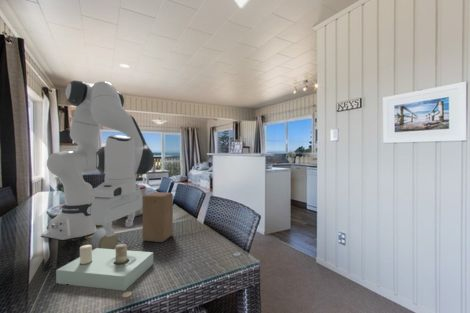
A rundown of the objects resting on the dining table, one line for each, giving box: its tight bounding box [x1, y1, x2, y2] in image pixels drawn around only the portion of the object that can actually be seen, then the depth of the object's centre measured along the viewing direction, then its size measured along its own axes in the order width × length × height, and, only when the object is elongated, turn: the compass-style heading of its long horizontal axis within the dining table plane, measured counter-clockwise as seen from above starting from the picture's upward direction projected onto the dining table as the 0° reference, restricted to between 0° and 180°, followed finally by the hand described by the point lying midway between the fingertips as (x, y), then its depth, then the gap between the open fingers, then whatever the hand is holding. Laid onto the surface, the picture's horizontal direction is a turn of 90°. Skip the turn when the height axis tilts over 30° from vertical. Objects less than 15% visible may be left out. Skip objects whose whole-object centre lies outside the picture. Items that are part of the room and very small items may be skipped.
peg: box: [115, 243, 128, 265], centre depth 75 cm, size 3×3×9 cm
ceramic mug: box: [91, 227, 124, 249], centre depth 95 cm, size 11×8×8 cm
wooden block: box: [141, 191, 174, 243], centre depth 106 cm, size 10×10×20 cm
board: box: [55, 244, 154, 291], centre depth 75 cm, size 22×16×9 cm
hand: (120, 230), depth 74 cm, fingers open, 8 cm apart
